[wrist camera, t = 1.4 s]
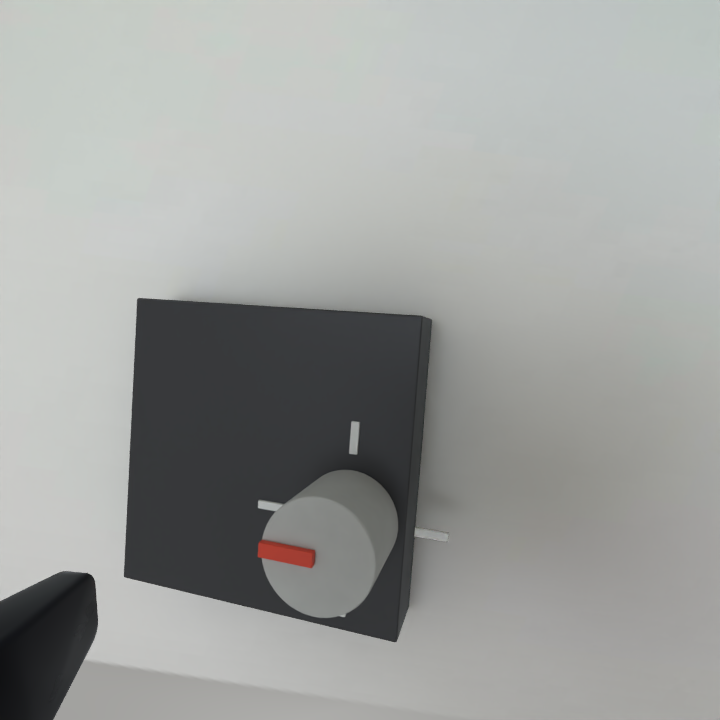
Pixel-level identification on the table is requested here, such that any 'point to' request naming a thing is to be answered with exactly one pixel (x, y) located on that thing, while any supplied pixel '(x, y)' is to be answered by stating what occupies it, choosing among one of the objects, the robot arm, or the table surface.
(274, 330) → the console
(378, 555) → the timer knob
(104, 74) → the table surface
